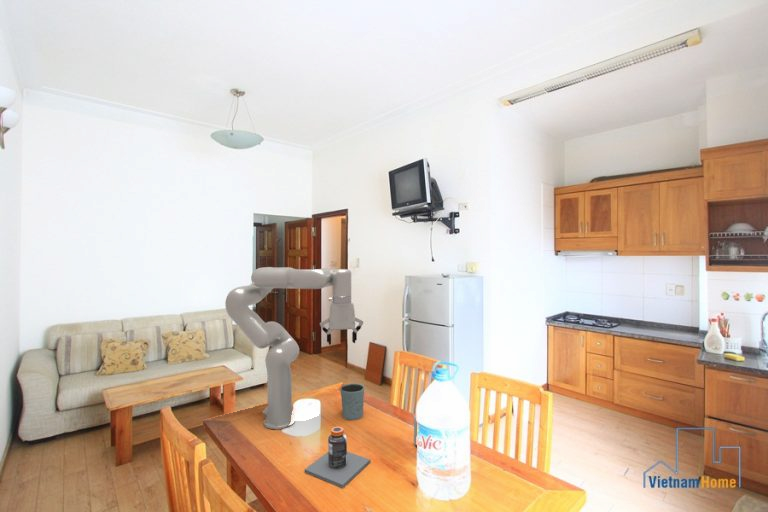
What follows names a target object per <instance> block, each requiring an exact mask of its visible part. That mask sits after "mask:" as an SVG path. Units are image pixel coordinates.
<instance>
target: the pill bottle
mask: <svg viewBox="0 0 768 512" xmlns="http://www.w3.org/2000/svg"><path fill="white" fill-rule="evenodd" d="M330 432H331V433H330V435H329V436H328V438H327V439H328V442H327V443H328V444H327V447H328V448H327V452H328V464H329V466H330V467H331V468H334V469H339V468H342V467H344V466H345V465H346V464H347V452H348V451H347V450H348V449H347V448H348V445H347V443H348V438H347V435H346V434H345V433H344V432H345V431H344V427H341V426H334V427H332V428H331V431H330Z"/></svg>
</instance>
